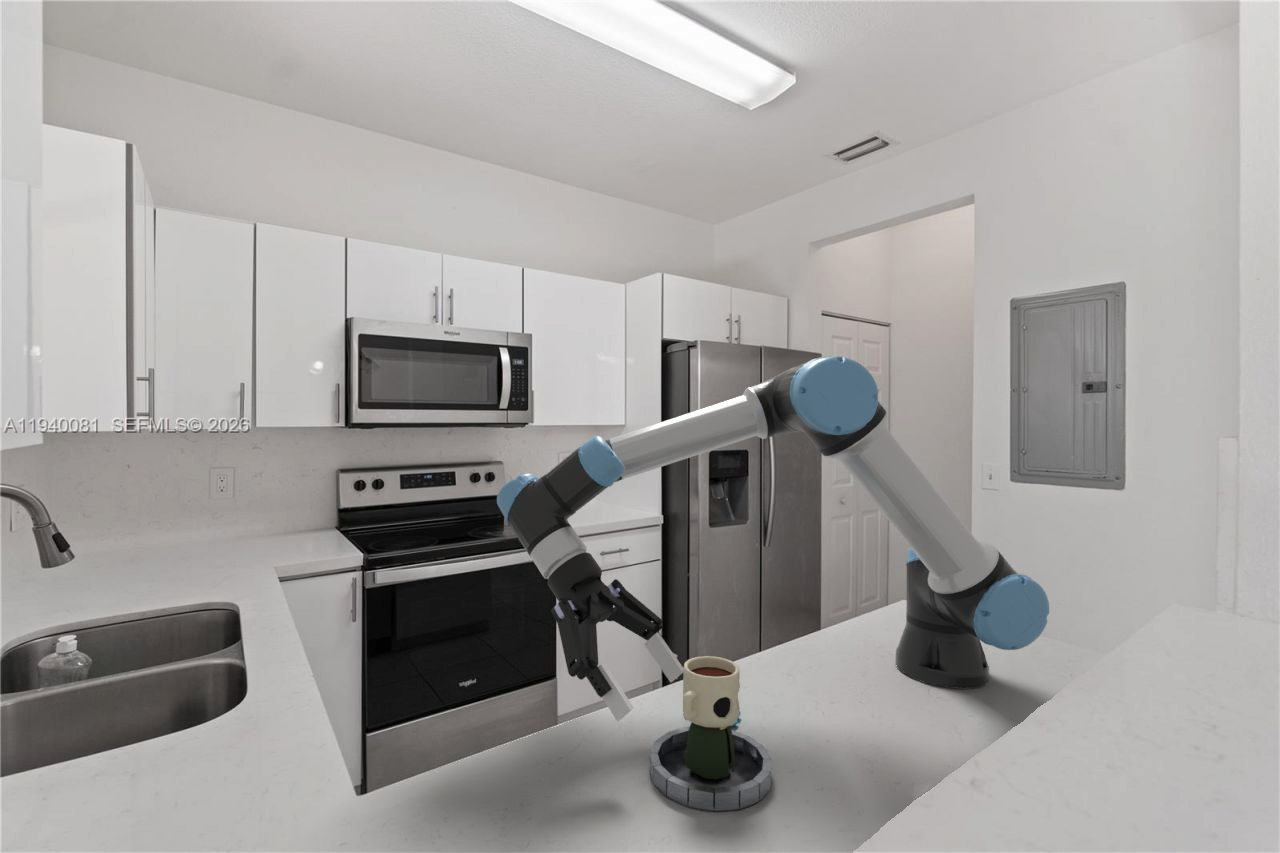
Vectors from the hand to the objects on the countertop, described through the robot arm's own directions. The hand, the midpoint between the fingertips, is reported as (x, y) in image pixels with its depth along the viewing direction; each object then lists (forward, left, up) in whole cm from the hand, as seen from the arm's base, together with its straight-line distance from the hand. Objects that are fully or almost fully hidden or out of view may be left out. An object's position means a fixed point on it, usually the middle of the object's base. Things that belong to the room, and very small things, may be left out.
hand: (654, 694), depth 79 cm
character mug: (-6, +5, -8) cm, 11 cm away
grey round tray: (-6, +5, -8) cm, 11 cm away
